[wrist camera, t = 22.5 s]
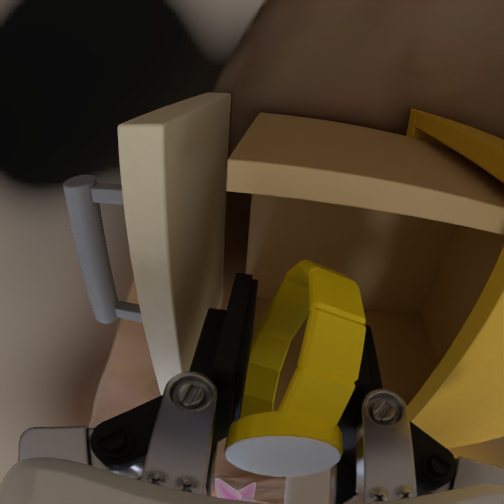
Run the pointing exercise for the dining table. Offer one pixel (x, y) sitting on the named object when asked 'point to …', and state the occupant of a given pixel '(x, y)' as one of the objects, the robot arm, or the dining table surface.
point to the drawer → (292, 229)
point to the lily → (235, 491)
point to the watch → (300, 376)
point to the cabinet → (476, 326)
